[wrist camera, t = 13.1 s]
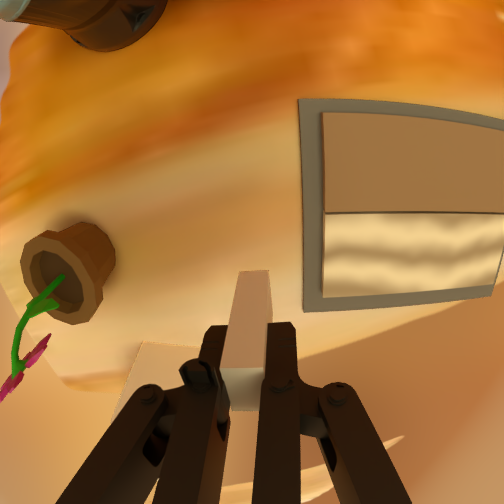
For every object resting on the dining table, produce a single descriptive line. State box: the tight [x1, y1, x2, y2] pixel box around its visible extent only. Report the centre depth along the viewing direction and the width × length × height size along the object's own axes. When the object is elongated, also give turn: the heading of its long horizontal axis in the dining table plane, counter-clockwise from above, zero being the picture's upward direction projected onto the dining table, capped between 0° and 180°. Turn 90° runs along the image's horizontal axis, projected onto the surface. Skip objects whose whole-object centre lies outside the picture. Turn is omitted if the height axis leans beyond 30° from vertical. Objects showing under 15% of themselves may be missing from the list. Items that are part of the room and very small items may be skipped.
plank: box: [321, 210, 504, 298], centre depth 39 cm, size 12×30×2 cm, turn 94°
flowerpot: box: [0, 222, 115, 402], centre depth 32 cm, size 14×14×30 cm
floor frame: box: [298, 99, 504, 313], centre depth 37 cm, size 30×35×3 cm
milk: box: [111, 341, 201, 481], centre depth 43 cm, size 12×12×26 cm
